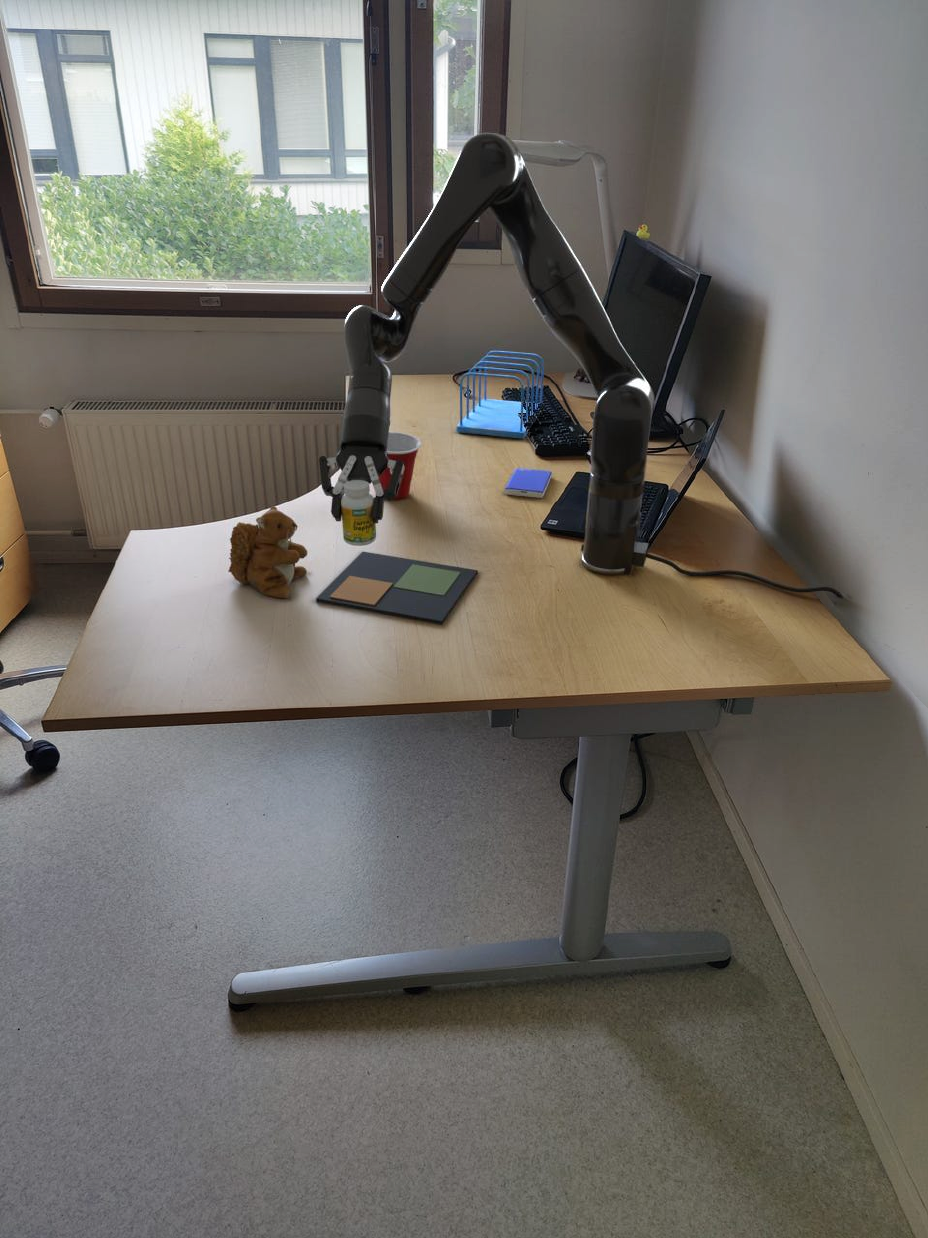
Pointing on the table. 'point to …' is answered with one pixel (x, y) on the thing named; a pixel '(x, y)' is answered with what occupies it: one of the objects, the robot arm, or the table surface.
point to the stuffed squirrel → (267, 554)
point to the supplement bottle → (358, 513)
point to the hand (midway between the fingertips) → (356, 520)
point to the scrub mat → (399, 587)
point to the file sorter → (499, 401)
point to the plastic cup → (406, 451)
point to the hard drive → (528, 482)
